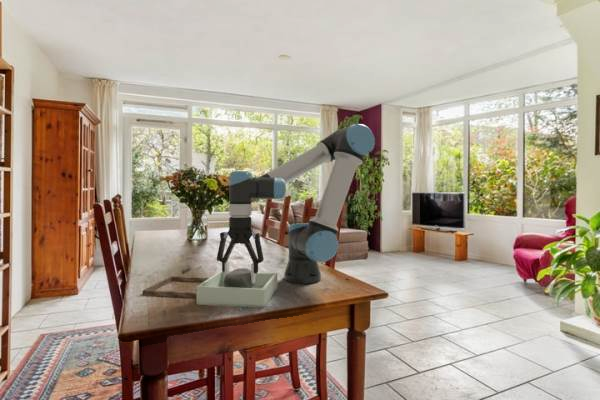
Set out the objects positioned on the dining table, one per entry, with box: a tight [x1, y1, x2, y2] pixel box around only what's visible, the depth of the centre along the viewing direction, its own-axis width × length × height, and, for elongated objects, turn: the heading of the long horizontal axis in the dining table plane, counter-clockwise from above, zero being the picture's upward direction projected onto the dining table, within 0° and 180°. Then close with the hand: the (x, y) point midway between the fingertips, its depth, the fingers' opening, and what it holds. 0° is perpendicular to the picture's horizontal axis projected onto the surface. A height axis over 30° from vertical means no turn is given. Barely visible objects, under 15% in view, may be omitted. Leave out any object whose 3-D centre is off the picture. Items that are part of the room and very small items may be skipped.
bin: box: [196, 270, 278, 309], centre depth 119 cm, size 22×21×6 cm
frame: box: [142, 275, 210, 299], centre depth 128 cm, size 22×20×2 cm
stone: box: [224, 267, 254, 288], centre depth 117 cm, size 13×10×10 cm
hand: (240, 281), depth 119 cm, fingers closed on stone, 9 cm apart
